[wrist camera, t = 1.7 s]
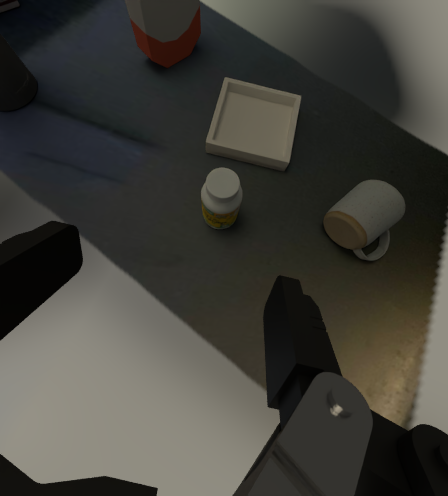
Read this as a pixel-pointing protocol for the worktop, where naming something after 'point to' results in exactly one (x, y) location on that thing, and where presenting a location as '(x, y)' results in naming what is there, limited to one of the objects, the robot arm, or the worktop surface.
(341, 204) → the ceramic mug
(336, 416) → the robot arm
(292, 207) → the worktop surface
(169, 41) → the french fries container
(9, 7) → the supplement box
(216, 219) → the supplement bottle
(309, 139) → the worktop surface
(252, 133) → the tray
